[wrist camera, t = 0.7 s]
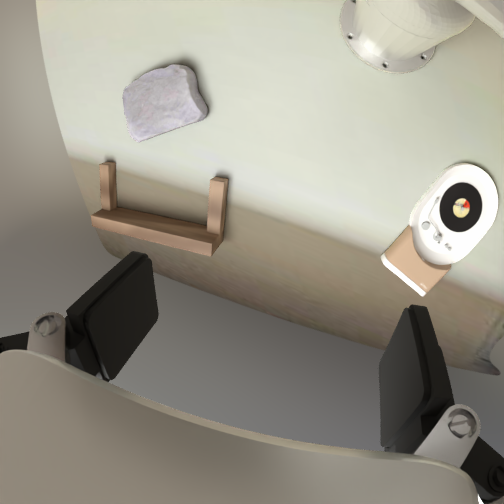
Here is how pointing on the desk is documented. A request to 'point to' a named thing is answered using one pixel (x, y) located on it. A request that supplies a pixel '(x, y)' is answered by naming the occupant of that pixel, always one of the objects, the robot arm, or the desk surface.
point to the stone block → (162, 102)
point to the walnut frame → (162, 218)
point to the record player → (443, 226)
